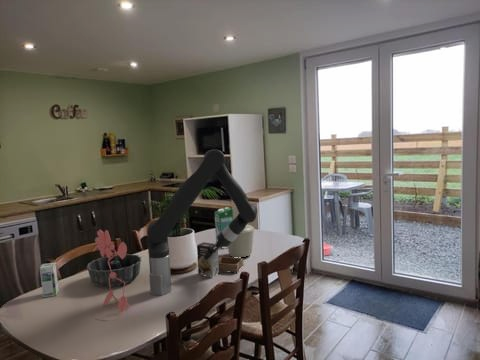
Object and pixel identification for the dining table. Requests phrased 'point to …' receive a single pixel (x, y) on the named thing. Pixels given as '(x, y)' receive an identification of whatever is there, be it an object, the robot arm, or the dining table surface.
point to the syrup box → (49, 279)
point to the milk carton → (222, 219)
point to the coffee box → (209, 265)
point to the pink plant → (105, 248)
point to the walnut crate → (230, 264)
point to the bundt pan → (114, 270)
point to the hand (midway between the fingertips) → (208, 255)
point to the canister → (242, 243)
